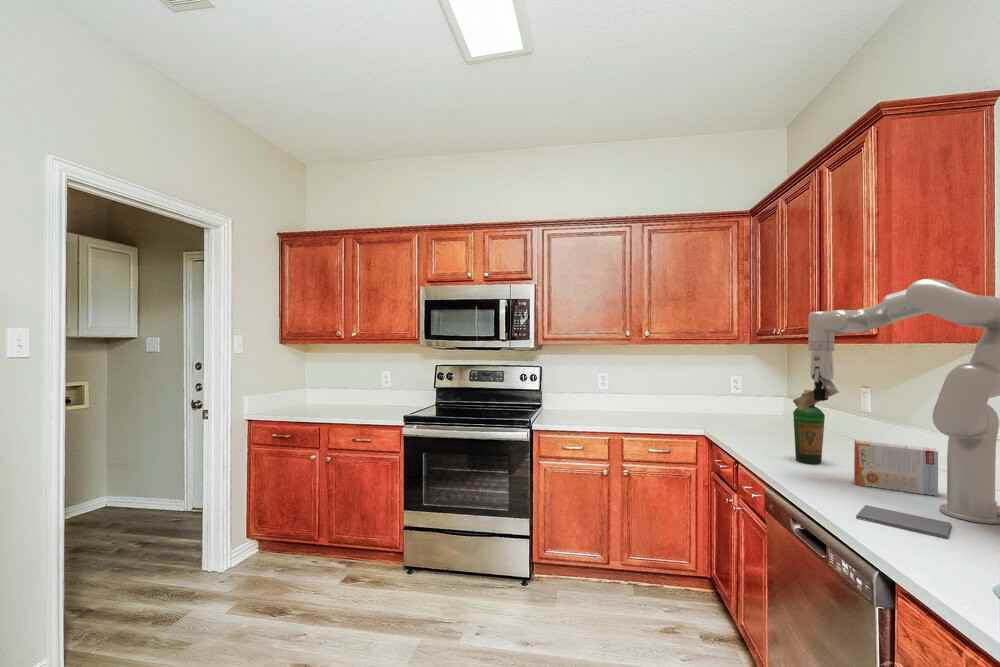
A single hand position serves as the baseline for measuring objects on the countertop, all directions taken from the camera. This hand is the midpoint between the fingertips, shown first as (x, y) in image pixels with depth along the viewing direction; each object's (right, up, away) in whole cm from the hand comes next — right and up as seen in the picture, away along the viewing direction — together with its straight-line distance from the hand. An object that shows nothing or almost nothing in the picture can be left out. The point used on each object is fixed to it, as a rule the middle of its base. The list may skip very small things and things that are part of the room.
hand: (821, 399), depth 169 cm
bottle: (+9, -28, +22) cm, 36 cm away
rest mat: (-5, -27, -41) cm, 49 cm away
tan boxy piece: (-1, -1, +1) cm, 1 cm away
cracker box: (+7, -20, -5) cm, 22 cm away
